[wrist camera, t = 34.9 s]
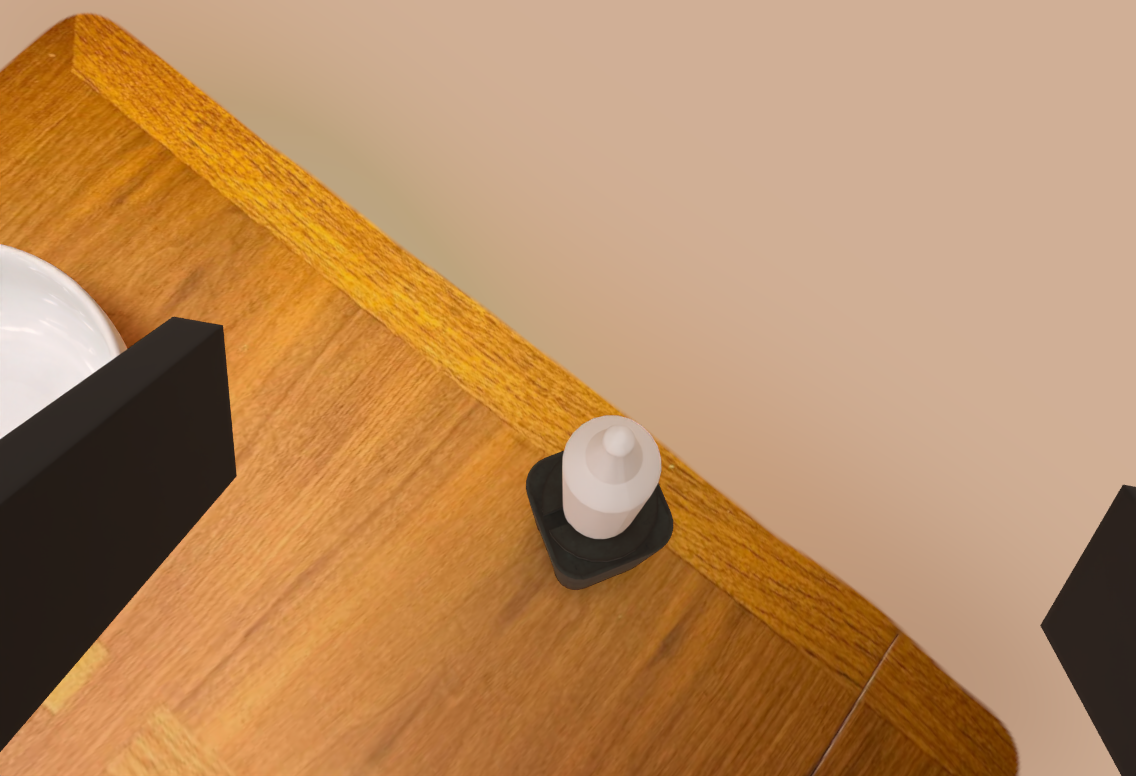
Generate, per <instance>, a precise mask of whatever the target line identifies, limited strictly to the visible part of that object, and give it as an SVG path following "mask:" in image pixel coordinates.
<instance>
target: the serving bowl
mask: <svg viewBox="0 0 1136 776" xmlns="http://www.w3.org/2000/svg"><path fill="white" fill-rule="evenodd" d="M125 350H127V347H126V345H125V343H124V341H123V339H122V337H121V335H120V333H119V332H118V330H117V329H116V327H115V326H114V324H113V323H112V321H111V320H110V318H109V317H108V316H107V315H106V313H105V312H104V311H103V309H102V308H101V307H100V306H99V305H98V304H97V303H96V301H95V300H94V299H93V298H92V297H91V296H90V295H89V294H88V293H87V292H86V291H85V290H84V289H83V288H82V287H81V286H80V285H79V284H78V283H77V282H76V281H74V280H73V279H72V278H71V277H69V276H68V275H67V274H65V273H64V272H62V271H61V270H60V269H58V268H57V267H55V266H53V265H52V264H50V263H48V262H46V261H44V260H43V259H41V258H39V257H36V256H34V255H32V254H30V253H27V252H25V251H22V250H19V249H16V248H13V247H10V246H6V245H2V244H0V439H1V438H2V437H4V436H5V435H7V434H8V433H9V432H11V431H12V430H14V429H15V428H16V427H18V426H19V425H21V424H22V423H24V422H25V421H26V420H28V419H29V418H31V417H32V416H33V415H35V414H36V413H38V412H39V411H40V410H42V409H43V408H45V407H46V406H48V405H49V404H50V403H52V402H53V401H55V400H56V399H57V398H59V397H60V396H62V395H63V394H65V393H66V392H67V391H69V390H70V389H72V388H73V387H74V386H76V385H77V384H79V383H80V382H81V381H83V380H84V379H86V378H87V377H89V376H90V375H91V374H93V373H94V372H96V371H97V370H98V369H100V368H101V367H103V366H104V365H106V364H107V363H108V362H110V361H111V360H113V359H114V358H115V357H117V356H118V355H120V354H121V353H122V352H124V351H125Z"/></svg>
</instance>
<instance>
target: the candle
mask: <svg viewBox="0 0 1136 776" xmlns="http://www.w3.org/2000/svg"><path fill="white" fill-rule="evenodd" d="M660 474H661V457H660V453H659V449H658V446H657V444H656V443H655V441H654V439H653V437H652V436H651V434H650V433H649V432H648V431H647V430H646V429H645V428H644V427H643V426H642V425H640V424H638V423H637V422H635V421H633V420H631V419H629V418H625V417H621V416H608V415H606V416H602V417H598V418H594V419H592V420H590V421H588V422H586V423H584V424H582V425H581V426H580V427H579V428H578V429H577V430H576V431H575V432H574V433H573V434H572V436H571V437H570V439H569V440H568V442H567V444H566V447H565V450H564V451H562V452H559V453H557V454H554V455H551V456H549V457H546V458H544V459H542V460H540V461H538V462H537V463H536V464H535V465H534V466H533V467H532V469H531V470H530V472H529V474H528V477H527V480H526V490H527V495H528V498H529V502H530V505H531V508H532V511H533V515H534V518H535V521H536V524H537V528H538V530H539V531H540V533H541V536H542V538H543V541H544V543H545V546H546V549H547V551H548V554H549V557H550V559H551V562H552V565H553V568H554V572H555V575H556V577H557V579H558V581H559V582H560V583H561V584H562V585H563V586H565V587H566V588H569V589H572V590H579V589H583V588H586V587H588V586H591V585H593V584H596V583H598V582H601V581H603V580H606V579H608V578H611V577H613V576H616V575H618V574H621V573H623V572H626V571H628V570H630V569H632V568H634V567H635V566H637V565H638V564H640V563H641V562H643V561H644V560H646V559H647V558H648V557H650V556H651V555H653V554H654V553H656V552H657V551H659V550H660V549H661V548H663V547H664V546H665V545H666V544H667V542H668V541H669V539H670V537H671V535H672V531H673V518H672V515H671V512H670V509H669V507H668V505H667V502H666V500H665V497H664V495H663V493H662V490H661V488H660V486H659V483H658V481H659V477H660Z"/></svg>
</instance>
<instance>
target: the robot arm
mask: <svg viewBox="0 0 1136 776" xmlns="http://www.w3.org/2000/svg"><path fill="white" fill-rule="evenodd" d="M235 477H236V465H235V454H234V443H233V432H232V421H231V410H230V399H229V387H228V376H227V365H226V354H225V343H224V332H223V325H218V324H212V323H206V322H201V321H195V320H189V319H184V318H178V317H172V318H171V319H169V320H168V321H166V322H165V323H163V324H162V325H161V326H159V327H158V328H156V329H155V330H154V331H152V332H151V333H149V334H148V335H146V336H145V337H144V338H142V339H141V340H139V341H138V342H137V343H135V344H134V345H132V346H131V347H130V348H128V349H127V350H125V351H124V352H122V353H121V354H120V355H118V356H117V357H115V358H114V359H113V360H111V361H110V362H108V363H107V364H106V365H104V366H103V367H101V368H100V369H98V370H97V371H96V372H94V373H93V374H91V375H90V376H89V377H87V378H86V379H84V380H83V381H81V382H80V383H79V384H77V385H76V386H74V387H73V388H72V389H70V390H69V391H67V392H66V393H65V394H63V395H62V396H60V397H59V398H57V399H56V400H55V401H53V402H52V403H50V404H49V405H48V406H46V407H45V408H43V409H42V410H40V411H39V412H38V413H36V414H35V415H33V416H32V417H31V418H29V419H28V420H26V421H25V422H24V423H22V424H21V425H19V426H18V427H16V428H15V429H14V430H12V431H11V432H9V433H8V434H7V435H5V436H4V437H2V438H1V439H0V752H1V751H2V749H3V748H4V747H5V746H6V745H7V744H8V742H9V741H10V740H11V739H12V738H13V737H14V735H15V734H16V733H17V732H18V731H19V730H20V728H21V727H22V726H23V725H24V724H25V723H26V721H27V720H28V719H29V718H30V717H31V716H32V714H33V713H34V712H35V711H36V710H37V709H38V707H39V706H40V705H41V704H42V703H43V702H44V700H45V699H46V698H47V697H48V696H49V695H50V693H51V692H52V691H53V690H54V689H55V688H56V686H57V685H58V684H59V683H60V682H61V681H62V679H63V678H64V677H65V676H66V675H67V674H68V672H69V671H70V670H71V669H72V668H73V667H74V665H75V664H76V663H77V662H78V661H79V660H80V658H81V657H82V656H83V655H84V654H85V653H86V651H87V650H88V649H89V648H90V647H91V646H92V644H93V643H94V642H95V641H96V640H97V638H98V637H99V636H100V635H101V634H102V633H103V631H104V630H105V629H106V628H107V627H108V626H109V624H110V623H111V622H112V621H113V620H114V619H115V617H116V616H117V615H118V614H119V613H120V612H121V610H122V609H123V608H124V607H125V606H126V605H127V603H128V602H129V601H130V600H131V599H132V598H133V596H134V595H135V594H136V593H137V592H138V591H139V589H140V588H141V587H142V586H143V585H144V584H145V582H146V581H147V580H148V579H149V578H150V577H151V575H152V574H153V573H154V572H155V571H156V570H157V568H158V567H159V566H160V565H161V564H162V563H163V561H164V560H165V559H166V558H167V557H168V556H169V554H170V553H171V552H172V551H173V550H174V549H175V547H176V546H177V545H178V544H179V543H180V542H181V540H182V539H183V538H184V537H185V536H186V535H187V533H188V532H189V531H190V530H191V529H192V528H193V526H194V525H195V524H196V523H197V522H198V521H199V519H200V518H201V517H202V516H203V515H204V514H205V512H206V511H207V510H208V509H209V508H210V507H211V505H212V504H213V503H214V502H215V501H216V500H217V498H218V497H219V496H220V495H221V494H222V493H223V491H224V490H225V489H226V488H227V487H228V486H229V484H230V483H231V482H232V481H233V480H234V478H235ZM1041 627H1042V629H1043V631H1044V633H1045V635H1046V637H1047V639H1048V640H1049V642H1050V644H1051V646H1052V648H1053V650H1054V652H1055V653H1056V655H1057V657H1058V659H1059V661H1060V662H1061V664H1062V666H1063V668H1064V670H1065V672H1066V674H1067V676H1068V677H1069V679H1070V681H1071V683H1072V685H1073V687H1074V689H1075V690H1076V692H1077V694H1078V696H1079V698H1080V700H1081V702H1082V703H1083V705H1084V707H1085V709H1086V711H1087V713H1088V715H1089V716H1090V718H1091V720H1092V722H1093V724H1094V726H1095V728H1096V729H1097V731H1098V733H1099V735H1100V736H1101V739H1102V741H1103V742H1104V744H1105V746H1106V748H1107V750H1108V751H1109V754H1110V755H1111V757H1112V759H1113V761H1114V763H1115V765H1116V767H1117V768H1118V770H1119V772H1120V774H1121V776H1136V487H1133V486H1127V485H1123V486H1122V488H1121V489H1120V491H1119V492H1118V494H1117V496H1116V497H1115V499H1114V501H1113V503H1112V504H1111V506H1110V508H1109V509H1108V511H1107V513H1106V514H1105V516H1104V518H1103V520H1102V521H1101V523H1100V525H1099V527H1098V528H1097V530H1096V532H1095V534H1094V535H1093V537H1092V538H1091V540H1090V542H1089V544H1088V545H1087V547H1086V549H1085V550H1084V552H1083V554H1082V556H1081V557H1080V559H1079V561H1078V562H1077V564H1076V566H1075V568H1074V569H1073V571H1072V573H1071V574H1070V576H1069V578H1068V579H1067V581H1066V583H1065V585H1064V586H1063V588H1062V590H1061V591H1060V593H1059V595H1058V597H1057V598H1056V600H1055V602H1054V603H1053V605H1052V607H1051V608H1050V610H1049V612H1048V614H1047V615H1046V617H1045V619H1044V620H1043V622H1042V624H1041Z"/></svg>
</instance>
